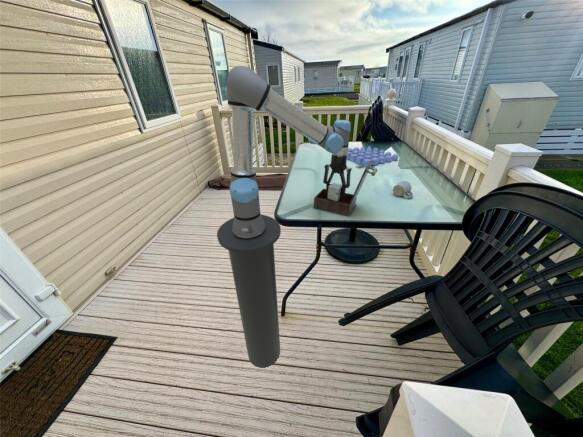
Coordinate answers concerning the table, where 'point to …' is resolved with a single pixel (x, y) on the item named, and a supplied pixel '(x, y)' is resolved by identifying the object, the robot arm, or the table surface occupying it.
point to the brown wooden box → (334, 203)
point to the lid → (363, 180)
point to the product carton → (334, 191)
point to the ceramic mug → (403, 189)
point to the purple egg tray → (369, 156)
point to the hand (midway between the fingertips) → (334, 197)
